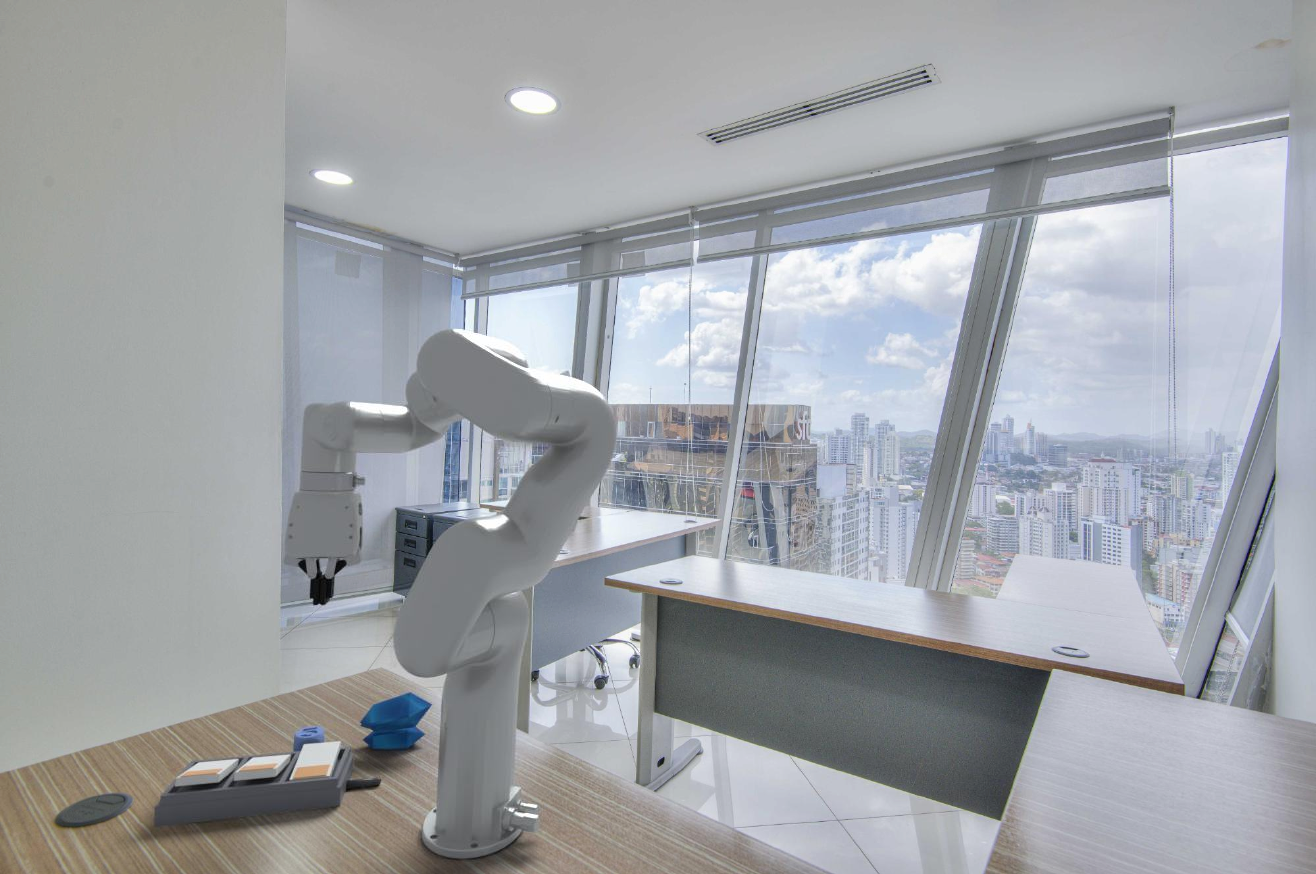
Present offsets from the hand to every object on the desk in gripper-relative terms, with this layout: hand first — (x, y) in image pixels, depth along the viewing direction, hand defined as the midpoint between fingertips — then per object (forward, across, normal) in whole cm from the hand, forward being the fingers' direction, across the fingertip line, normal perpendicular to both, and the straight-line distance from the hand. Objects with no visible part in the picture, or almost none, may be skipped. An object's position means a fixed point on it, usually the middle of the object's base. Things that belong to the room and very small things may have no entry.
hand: (321, 602), depth 94 cm
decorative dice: (+24, +1, -1) cm, 24 cm away
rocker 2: (+20, -3, +9) cm, 22 cm away
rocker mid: (+20, +4, +9) cm, 23 cm away
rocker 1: (+20, +10, +10) cm, 25 cm away
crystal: (+24, -11, -2) cm, 27 cm away
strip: (+24, +2, +9) cm, 26 cm away
